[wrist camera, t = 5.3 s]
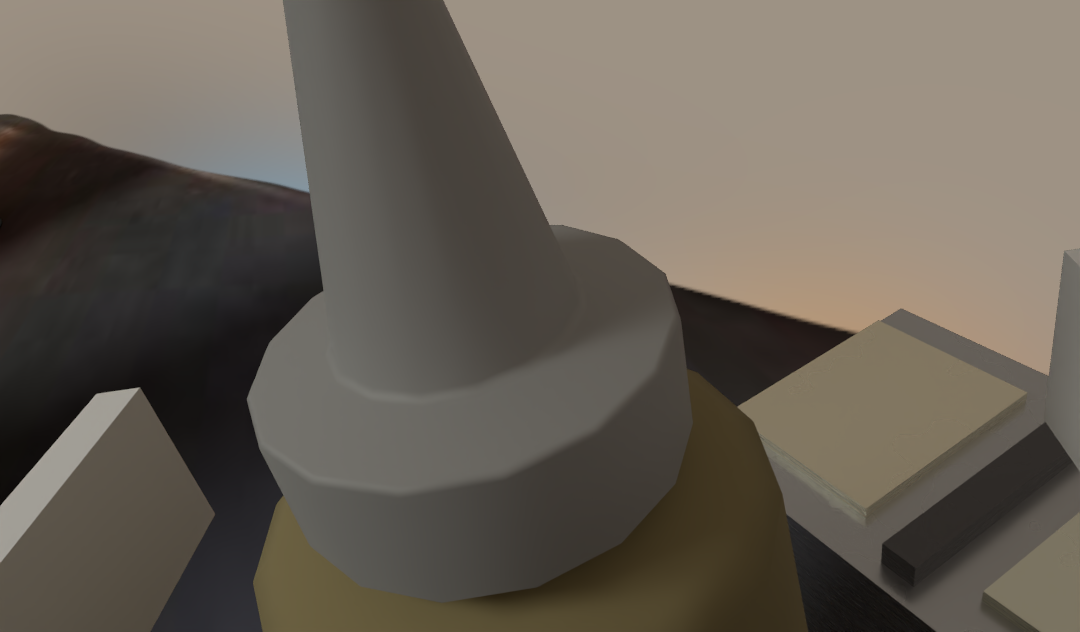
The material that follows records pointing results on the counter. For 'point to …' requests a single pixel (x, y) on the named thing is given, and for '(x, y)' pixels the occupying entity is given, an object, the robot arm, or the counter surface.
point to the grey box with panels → (923, 486)
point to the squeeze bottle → (487, 384)
